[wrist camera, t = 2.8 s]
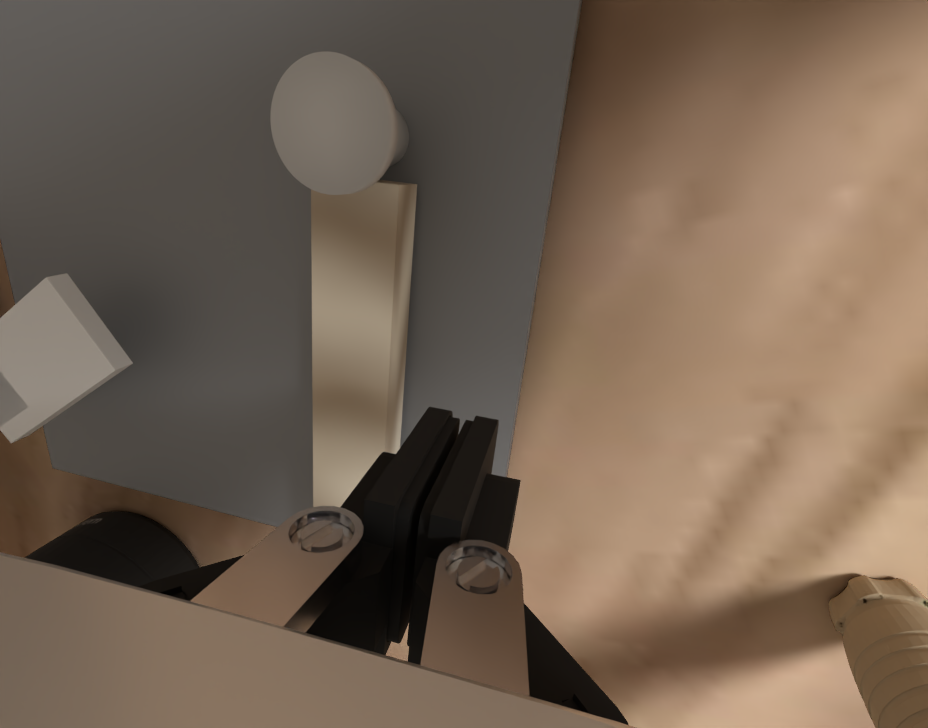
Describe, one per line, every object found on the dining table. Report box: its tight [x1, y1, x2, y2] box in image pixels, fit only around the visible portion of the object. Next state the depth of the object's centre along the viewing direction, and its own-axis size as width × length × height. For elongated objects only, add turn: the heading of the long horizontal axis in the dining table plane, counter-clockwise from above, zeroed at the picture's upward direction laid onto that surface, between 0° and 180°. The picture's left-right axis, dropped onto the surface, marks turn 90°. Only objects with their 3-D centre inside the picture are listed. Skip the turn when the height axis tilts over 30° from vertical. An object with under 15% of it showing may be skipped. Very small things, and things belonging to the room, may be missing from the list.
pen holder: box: [25, 512, 199, 587], centre depth 26 cm, size 9×9×10 cm
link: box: [311, 180, 417, 507], centre depth 20 cm, size 15×3×2 cm, turn 174°
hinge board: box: [0, 0, 582, 527], centre depth 20 cm, size 23×24×5 cm
